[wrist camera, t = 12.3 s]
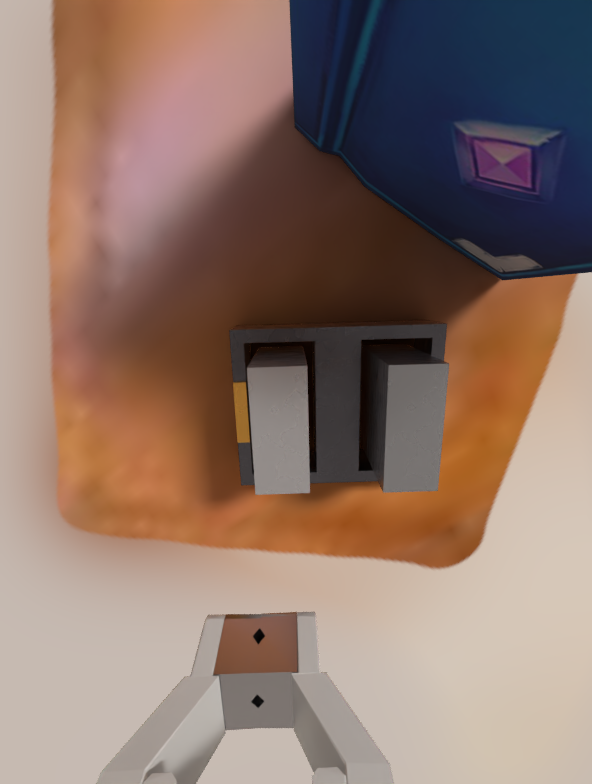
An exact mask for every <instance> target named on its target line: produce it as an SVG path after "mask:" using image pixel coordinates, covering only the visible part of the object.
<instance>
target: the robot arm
mask: <svg viewBox="0 0 592 784" xmlns="http://www.w3.org/2000/svg"><path fill="white" fill-rule="evenodd" d="M251 728H294V731H295V733H296V736H297V738H298V739H299V742H300V744H301V746H302V748H303V750H304V752H305V755H306V757H307V759H308V761H309V763H310V765H311V767H312V770H313V772H314V775H313V776H312V784H394V782H393V777H392V772H391V767H390V763H389V762H388V760H387V759H386V758H385V756H384V755H383V753H382V752H381V751H380V749H379V748H378V746H377V745H376V744H375V742H374V740H373V739H372V738H371V736H370V735H369V733H368V732H367V730H366V729H365V728H364V727H363V725H362V723H361V722H360V720H359V719H358V717H357V716H356V715H355V713H354V712H353V710H352V709H351V707H350V706H349V704H348V703H347V702H346V700H345V699H344V697H343V696H342V694H341V693H340V692H339V690H338V689H337V687H336V686H335V684H334V683H333V682H332V680H331V679H330V677H329V676H328V674H327V673H326V672H320V661H319V648H318V634H317V620H316V613H315V612H298V613H297V612H290V613H270V614H269V613H268V614H254V615H253V614H249V615H248V614H228V615H208V616H207V618H206V620H205V623H204V627H203V630H202V634H201V638H200V642H199V645H198V649H197V653H196V657H195V661H194V664H193V668H192V672H191V676H187V677H184V678H183V679H182V680H181V681H180V683H179V684H178V685H177V686H176V687H175V688H174V689H173V691H172V692H171V693H170V694H169V695H168V696H167V697H166V699H165V700H164V701H163V702H162V703H161V704H160V705H159V706H158V708H157V709H156V710H155V711H154V712H153V713H152V714H151V716H150V717H149V718H148V719H147V720H146V721H145V722H144V724H143V725H142V726H141V727H140V728H139V729H138V731H137V732H136V733H135V734H134V735H133V736H132V737H131V739H130V740H129V741H128V742H127V743H126V744H125V745H124V746H123V748H122V749H121V750H120V751H119V752H118V753H117V754H116V756H115V757H114V758H113V759H112V760H111V761H110V763H109V764H108V765H107V766H106V767H105V768H104V769H103V770H102V772H101V773H100V776H99V778H98V781H97V783H96V784H196V782H197V781H198V779H199V777H200V775H201V774H202V772H203V770H204V769H205V767H206V765H207V764H208V762H209V760H210V759H211V756H212V755H213V753H214V752H215V750H216V748H217V747H218V745H219V743H220V742H221V740H222V738H223V736H224V735H225V730H236V729H251Z"/></svg>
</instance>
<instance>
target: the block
mask: <svg viewBox="0 0 592 784" xmlns="http://www.w3.org/2000/svg"><path fill="white" fill-rule="evenodd" d="M247 377H248V392H249V406H250V421H251V436H252V450H253V465H254V480H255V494H256V495H261V494H292V493H310V468H309V422H308V376H307V362H306V358H305V353H304V348H303V346H281V347H259V349H258V350H257V352H256V354H255V355H254V357H253V359H252V360H251V362H250V364H249V365H248V367H247Z"/></svg>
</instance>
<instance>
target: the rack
mask: <svg viewBox="0 0 592 784" xmlns="http://www.w3.org/2000/svg"><path fill="white" fill-rule="evenodd" d="M446 329H447V324H445V323H440V322H435V321H430V320H409V321H374V322H340V323H305V324H270V325H237V326H235V327H234V328H232V329H230V330H229V332H230V345H231V358H232V371H233V391H234V404H235V417H236V430H237V443H238V449H239V462H240V475H241V485H255V480H254V465H253V450H252V436H251V421H250V406H249V392H248V377H247V367H248V365H249V364H250V362H251V350H250V343H265V342H299V341H312V358H313V424H314V452H309V468H310V483H334V482H367V481H378V482H379V484H380V487H381V489H382V491H383V492H415V491H438V482H439V471H440V460H441V448H442V437H443V426H444V415H445V404H446V393H447V382H448V370H449V363H447V362H444V353H445V341H446ZM403 338H415V340H414V348H413V347H411V346H409V345H406V344H384V345H362V349H361V340H368V339H403ZM360 377H361V394H360ZM359 423H360V440H359ZM359 441H360V443H361V445H362V447H363V449H364V450H359Z"/></svg>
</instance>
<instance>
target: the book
mask: <svg viewBox="0 0 592 784" xmlns="http://www.w3.org/2000/svg"><path fill="white" fill-rule="evenodd" d="M290 24H291V49H292V73H293V97H294V122H295V128H296V129H297V130H298V131H299V132H300V133H301V134H303V135H304V136H305V137H306V138H307V139H308V140H309V141H310V142H311V143H312V144H313V145H314V146H315V147H316V148H317V149H318V150H319V151H322V152H326V153H330V154H334V155H338V156H340V157H341V158H342V159H343V161H344V162H345V163H346V164H347V166H348V167H349V168H350V169H351V170H352V172H353V173H354V174H355V175H356V177H357V178H358V179H359V180H360V181H361V183H362V184H363V185H364V186H365V187H366V188H367V189H369V190H370V191H372V192H373V193H375V194H376V195H377V196H379V197H380V198H382V199H383V200H384V201H386V202H387V203H389V204H390V205H392V206H393V207H394V208H396V209H397V210H399V211H400V212H401V213H403V214H404V215H406V216H407V217H409V218H410V219H411V220H413V221H414V222H416V223H417V224H418V225H420V226H421V227H423V228H424V229H426V230H427V231H428V232H430V233H431V234H433V235H434V236H435V237H437V238H439V239H440V240H442V241H443V242H445V243H446V244H448V245H449V246H451V247H452V248H454V249H455V250H457V251H458V252H460V253H462V254H463V255H465V256H466V257H468V258H469V259H471V260H472V261H474V262H475V263H477V264H478V265H480V266H482V267H483V268H485V269H486V270H488V271H489V272H491V273H492V274H494V275H495V276H497V277H498V278H500V279H502V280H511V279H522V278H532V277H543V276H554V275H565V274H576V273H587V272H592V0H290Z"/></svg>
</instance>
